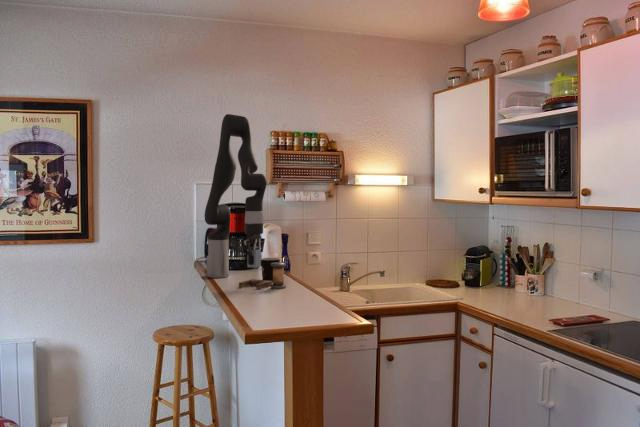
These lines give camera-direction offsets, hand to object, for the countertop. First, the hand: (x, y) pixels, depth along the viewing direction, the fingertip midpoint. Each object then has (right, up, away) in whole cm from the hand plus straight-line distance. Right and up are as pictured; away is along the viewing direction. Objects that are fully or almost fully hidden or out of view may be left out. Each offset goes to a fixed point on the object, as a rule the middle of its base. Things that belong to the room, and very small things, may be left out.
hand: (253, 263), depth 220 cm
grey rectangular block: (0, -1, 0) cm, 1 cm away
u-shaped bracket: (+1, -10, +2) cm, 10 cm away
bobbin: (+10, -10, 0) cm, 14 cm away
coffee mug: (+5, -9, +16) cm, 20 cm away
